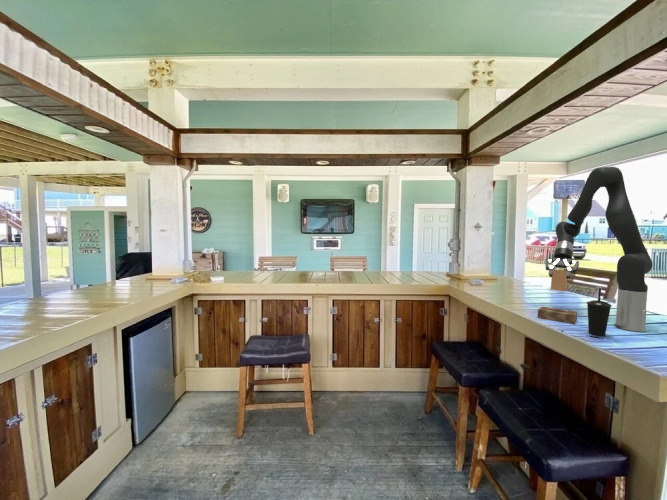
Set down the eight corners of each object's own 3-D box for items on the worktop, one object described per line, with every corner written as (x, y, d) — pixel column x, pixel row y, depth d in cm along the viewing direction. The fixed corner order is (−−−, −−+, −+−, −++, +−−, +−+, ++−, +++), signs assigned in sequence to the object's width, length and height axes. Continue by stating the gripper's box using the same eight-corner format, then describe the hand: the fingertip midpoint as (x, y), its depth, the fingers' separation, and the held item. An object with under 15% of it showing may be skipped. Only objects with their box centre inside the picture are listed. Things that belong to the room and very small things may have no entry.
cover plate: (566, 290, 149) (567, 270, 148) (565, 291, 147) (567, 271, 147) (551, 289, 153) (552, 269, 152) (550, 289, 152) (552, 269, 151)
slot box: (576, 322, 143) (577, 311, 143) (574, 326, 136) (575, 315, 136) (541, 316, 153) (541, 306, 153) (537, 320, 146) (537, 309, 145)
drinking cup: (587, 338, 121) (591, 288, 120) (581, 332, 128) (584, 285, 127) (612, 341, 118) (616, 290, 116) (605, 335, 124) (608, 287, 123)
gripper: (546, 246, 159) (540, 270, 151) (581, 247, 149) (577, 274, 141) (547, 255, 163) (541, 279, 155) (581, 257, 154) (577, 283, 146)
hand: (559, 276), depth 148 cm, fingers closed on cover plate, 6 cm apart
